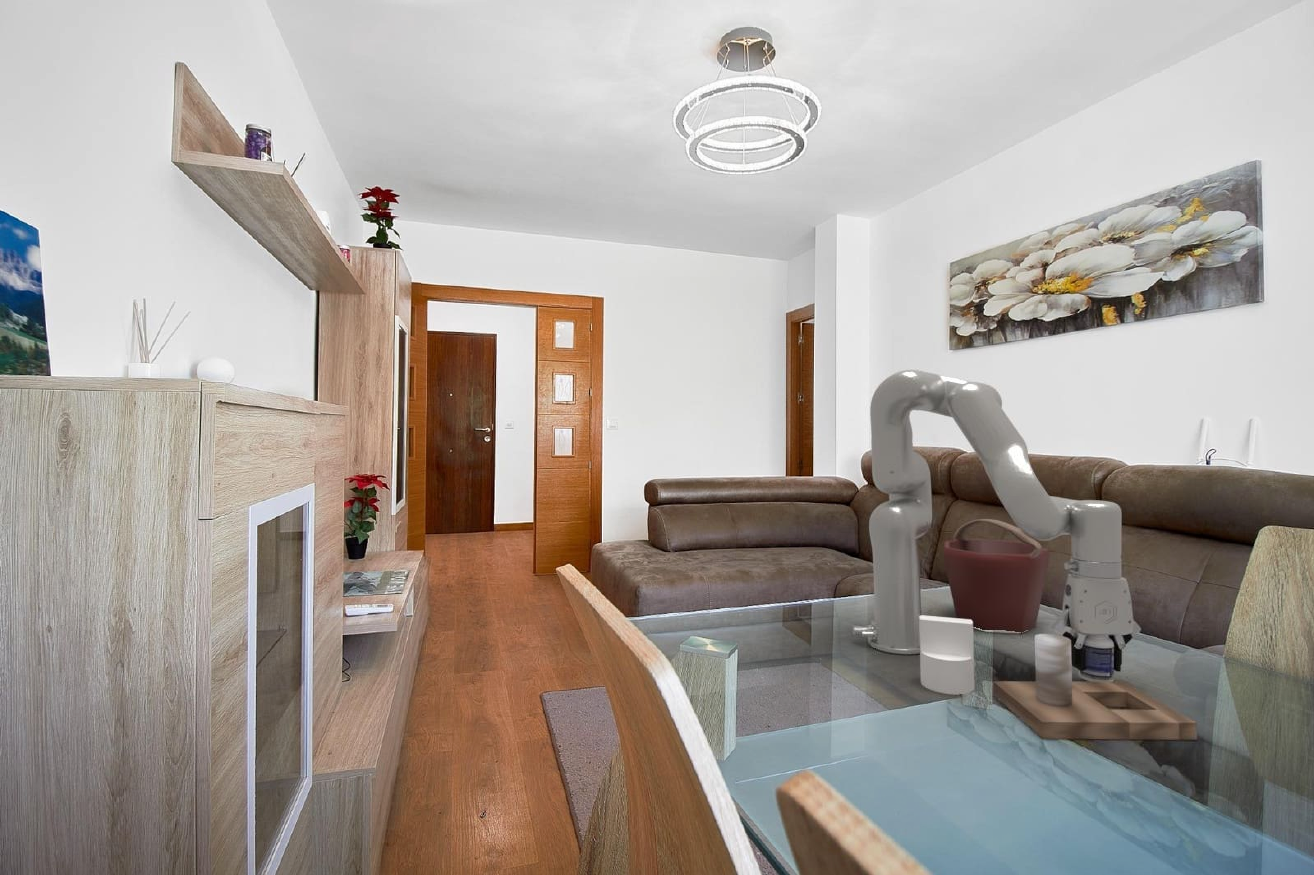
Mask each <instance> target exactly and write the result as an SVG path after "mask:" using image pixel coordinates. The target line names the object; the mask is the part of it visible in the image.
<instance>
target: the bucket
mask: <svg viewBox="0 0 1314 875" xmlns="http://www.w3.org/2000/svg"><path fill="white" fill-rule="evenodd" d="M981 523H982V524H983V523H987V524H991V525H994V526H995V527H998V528H1001V529H1003V530H1004V531H1007V532H1009V533H1011V535H1013V536H1014V537H1015V538H1016V539H1017V540H1018V541H1011V540H999V539H998V540H997V539H985V538H976V539H975V538H974V539H972V538H971V539H966V538H965V536H966V535H967V534H968V532H969V531H970V530H971V529H972V528H973V527H975V526H977V525H979V524H981ZM1049 559H1050V556H1049V548H1045V547H1042V545H1041V543H1040V542H1038V540H1035V539H1032V538H1030V537H1028V536H1027V535H1025V534H1024V533H1023V532H1022V531H1021V530H1020V529H1019V528H1018V526H1017V527H1016V526H1014V525H1012V524H1010V523H1008V522H1005V521H1001V520H998V519H990V518H982V519H981V518H980V519H978V518H977V519H973V520H971V521H968V522H965V523H964V524H962V525H961V526H960V527H958V528H957V530H956V531H955V533H954V535H953V540H945V541H944V545H943V562H944V566H945V570H946V576H947V579H948V580H947V581H948V586H949V589H950V594H951V598H952V602H953V608H954V611H955V615H956V617H955V618H958V619H970V620H972V621H973V627H976V628H980V629H982V630H1006V631H1015V632H1021V633H1022V632H1024V631H1026V630H1029V631H1031V630H1033V629H1035V628H1036V627H1037V620H1038V616H1039V612H1040V606H1041V602H1042V597H1043V592H1044V587H1045V583H1046V578H1047V572H1048V566H1049V563H1050V560H1049Z"/></svg>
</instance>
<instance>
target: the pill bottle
mask: <svg viewBox="0 0 1314 875" xmlns="http://www.w3.org/2000/svg"><path fill="white" fill-rule="evenodd" d="M1082 648H1083V649H1085V670H1084V671H1080V670H1078V669H1077V675H1078V677H1079V678H1081V679H1083V680H1085V681H1093V682H1114V678H1115V674H1114V673H1115V670H1114V643H1113V641H1112V640H1111V639H1110V638H1108V635H1086V637H1085V639H1084V642H1083V645H1082Z"/></svg>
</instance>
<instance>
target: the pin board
mask: <svg viewBox="0 0 1314 875" xmlns="http://www.w3.org/2000/svg"><path fill="white" fill-rule="evenodd" d="M1034 658H1035V664H1034V665H1035V680H1034V681H1032V680H1030V681H1029V680H1028V681H1026V680H1025V681H1022V680H1021V681H1019V680H1018V681H1017V680H1016V681H1013V680H1012V681H1011V680H1010V681H1007V680H1003V681H1002V680H1001V681H1000V680H999V681H998V680H997V681H993V682H992V689H993V690H992V691H993V694H992V695H995V698H996V699H997V698H998V699H1000V701H1001V702H1002V703H1004V704H1005V705H1006V706H1007V707H1008V708H1010V710H1011V711H1010V710H1009V711H1010V712H1011V713H1012V714H1014V713H1015V714H1016V715H1017V716H1018V717H1020V718H1021V719H1020V718H1019V719H1020V720H1021V721H1022V723H1024V722H1025V723H1026V724H1025V723H1024V724H1025V725H1027V726H1028V727H1029V726H1030V727H1031V728H1032V729H1033V730H1034V732H1035V733H1036V734H1037V735H1038V736H1039V737H1040V738H1041V739H1043V740H1044V739H1045V740H1048V739H1050V740H1051V739H1052V740H1158V741H1160V740H1162V741H1163V740H1164V741H1165V740H1173V741H1175V740H1176V741H1177V740H1178V741H1180V740H1183V741H1185V740H1186V741H1188V740H1189V741H1192V740H1193V741H1197V740H1198V733H1197V731H1198V728H1197V722H1196V721H1194V720H1192V719H1190V718H1189V717H1187V716H1185V715H1183V714H1182V713H1180V712H1178V711H1177V710H1175V709H1173V708H1171V707H1169V706H1168V705H1165V704H1164V703H1162V702H1160V701H1159V700H1157V699H1155V698H1154V697H1152V696H1151V695H1148V694H1147V693H1145V692H1143V691H1141V690H1140V689H1138V688H1136V687H1134V686H1133V685H1131V684H1130V683H1128V682H1126V681H1113V682H1093V681H1087V680H1085V681H1082V680H1081V681H1073V676H1072V675H1073V673H1072V672H1073V668H1072V667H1073V666H1072V662H1071V640H1070V639H1069V638H1066V637H1063V636H1061V635H1060V634H1058V635H1057V634H1052V633H1051V634H1050V633H1039V634H1035V635H1034ZM998 699H997V700H998ZM1000 701H999V702H1000ZM1001 702H1000V703H1001ZM1002 703H1001V704H1002ZM1004 704H1003V705H1004ZM1005 705H1004V706H1005ZM1006 706H1005V707H1006ZM1007 707H1006V708H1007ZM1008 708H1007V709H1008ZM1109 708H1128V709H1109ZM1015 714H1014V715H1015ZM1016 715H1015V716H1016ZM1017 716H1016V717H1017ZM1030 727H1029V728H1030ZM1031 728H1030V729H1031ZM1032 729H1031V730H1032ZM1033 730H1032V731H1033Z"/></svg>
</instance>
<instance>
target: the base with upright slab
mask: <svg viewBox="0 0 1314 875" xmlns="http://www.w3.org/2000/svg"><path fill="white" fill-rule="evenodd" d="M919 631H920V653H919V665H920V667H919V668H920V669H919V670H920V673H919V674H920V684H921V685H922V686H923V687H924V688H926V689H927V690H930V691H933V692H937V693H940V694H945V695H953V696H954V695H957V696H958V695H959V694H962V695H967V694H972V693H973V692H974V691H975V655H974V654H975V653H974V652H975V650H974V629H973V621H972V620H970V619H958V618H957V617H947V616H934V615H925V614H924V615H923V614H921V616H920V617H919ZM973 690H974V691H973ZM972 691H973V692H972ZM959 696H960V695H959Z"/></svg>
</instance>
